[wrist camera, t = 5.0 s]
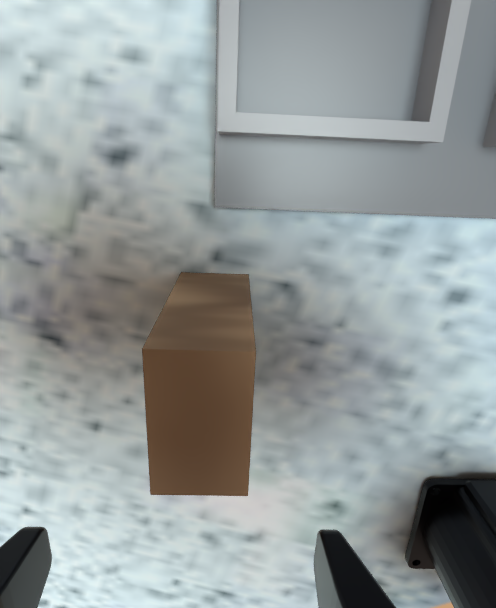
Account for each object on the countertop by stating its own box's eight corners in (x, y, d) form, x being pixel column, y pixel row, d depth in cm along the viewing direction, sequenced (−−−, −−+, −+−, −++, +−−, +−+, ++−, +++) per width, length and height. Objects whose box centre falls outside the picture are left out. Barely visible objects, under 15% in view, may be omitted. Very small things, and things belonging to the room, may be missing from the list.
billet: (248, 274, 17) (255, 352, 10) (244, 372, 19) (248, 495, 12) (181, 272, 17) (142, 348, 10) (183, 370, 19) (150, 494, 12)
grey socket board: (629, 221, 17) (692, 231, 15) (215, 204, 16) (212, 211, 14) (753, -108, 13) (865, -166, 11) (220, -148, 12) (216, -220, 10)
